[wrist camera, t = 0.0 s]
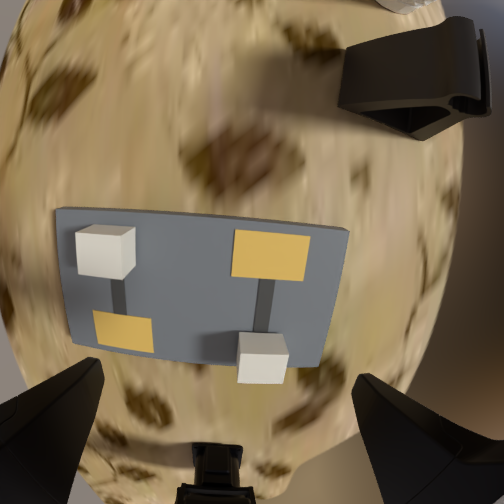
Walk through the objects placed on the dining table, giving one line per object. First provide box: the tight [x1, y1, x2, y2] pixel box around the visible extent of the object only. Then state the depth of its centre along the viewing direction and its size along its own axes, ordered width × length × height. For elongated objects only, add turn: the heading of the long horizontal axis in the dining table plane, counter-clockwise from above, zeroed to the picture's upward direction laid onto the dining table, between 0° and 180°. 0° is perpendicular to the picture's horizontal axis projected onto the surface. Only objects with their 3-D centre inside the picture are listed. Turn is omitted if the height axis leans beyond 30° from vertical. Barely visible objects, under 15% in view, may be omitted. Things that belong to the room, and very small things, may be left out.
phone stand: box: [338, 16, 492, 141], centre depth 14 cm, size 9×6×12 cm, turn 78°
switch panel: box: [56, 207, 350, 367], centre depth 22 cm, size 13×24×2 cm, turn 84°
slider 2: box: [236, 332, 289, 384], centre depth 21 cm, size 3×4×3 cm
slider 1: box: [75, 224, 136, 280], centre depth 18 cm, size 3×4×3 cm
